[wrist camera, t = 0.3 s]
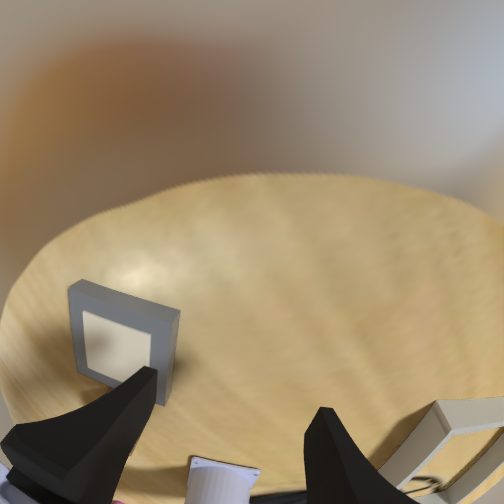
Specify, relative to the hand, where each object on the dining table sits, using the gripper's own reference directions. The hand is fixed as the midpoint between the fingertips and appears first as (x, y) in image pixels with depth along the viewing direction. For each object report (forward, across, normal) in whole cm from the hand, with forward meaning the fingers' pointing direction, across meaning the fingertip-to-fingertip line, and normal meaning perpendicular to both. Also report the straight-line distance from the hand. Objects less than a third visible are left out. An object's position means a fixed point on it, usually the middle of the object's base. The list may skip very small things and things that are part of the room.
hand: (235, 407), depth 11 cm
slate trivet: (+10, +10, +6) cm, 15 cm away
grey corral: (+10, -33, +20) cm, 40 cm away
